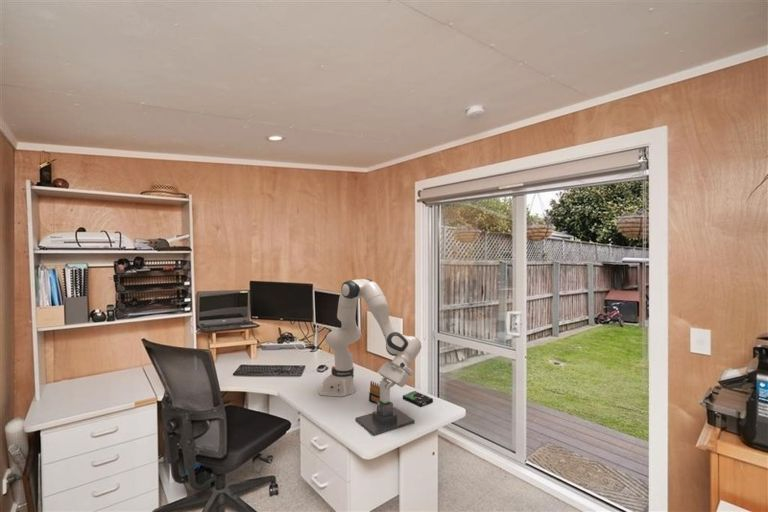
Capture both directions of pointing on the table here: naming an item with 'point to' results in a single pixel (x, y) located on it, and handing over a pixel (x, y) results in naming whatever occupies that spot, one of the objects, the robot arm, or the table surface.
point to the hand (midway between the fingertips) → (383, 387)
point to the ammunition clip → (374, 392)
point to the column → (384, 392)
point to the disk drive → (417, 399)
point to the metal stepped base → (384, 419)
